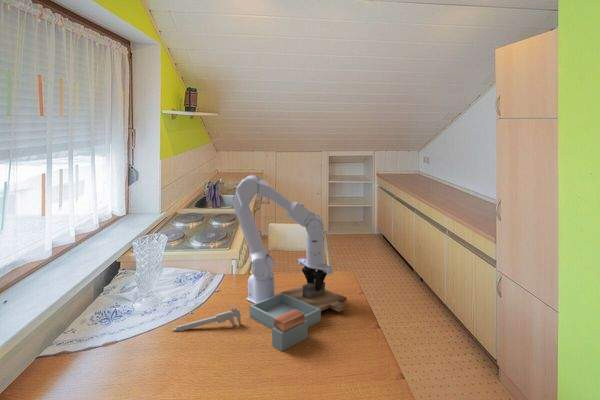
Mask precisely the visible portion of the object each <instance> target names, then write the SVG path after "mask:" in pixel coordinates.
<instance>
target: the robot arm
mask: <svg viewBox="0 0 600 400" xmlns="http://www.w3.org/2000/svg"><path fill="white" fill-rule="evenodd" d="M256 195H257V198H268V199H269V200H270V201H272V202H273V203H275V204H276V205H278V206H280V207H281V208H282V209H284V210H285V211H286V214H287V216H288V217H289V218H290V219H291V220H292V221H294V222H295V223H297V224H298V225H300V226H301V227H303V228H305V231H306V234H307V235H306V239H305V241H306V249H305V250H306V252H305V253H306V258H304V257H300V258H298V259H297V264H298V265H299V266H303V267H302V268H301V272H302V273H303V274H304V277H305V280H306V284H308V283H311V282H314V281H315V288H316V291H319V290H321V289H322V285H323V282H325V279H326V276H327V275H332V274H333V273H334V272H333V271H334V268H333V267H331V266H329V265H328V264H326V263H325V260H324V237H323V236H324V233H323V232H324V229H325V227H324V220H323V219H322V217H321V216H320V214H316V213H315V211H313V212H312V211H311V210H310V209H308V208H307V207H306V206H305V204H304V203H303V202H299V201H294V202H293V201H291V200H290V199H288V198H287V197H286V196H284V195H283V194H282V193H281V192H280V191H278V190H277V189H276V188H274V187H273V186H272V185H271V184H270V183H268V182H267V181H265V180H264V179H261V178H260V177H259V176H257V175H254V174H249V175H248V176H246V177H245V178H244V179H242V180H241V181H240V182H239V183H238V185H237V187H236V188H235V195H234V199H233V204H232V206H233V209H234V211H235V214H236V217H237V220H238V222H239V225H240V228H241V231H242V233H243V236H244V239H245V241H246V244H247V247H248V249H249V252H250V257H251V258H250V259H251V264H252V274H251V275H249V277H248V280H247V297H246V298H245V300H247V301H249V302H250V303H253V304H255V303H257V302H260V301H262V300H265V299H267V298H270V297H272V296H275V295H276V292H275V290H276V289H275V274H274V272H273V268H274V266H275V260H274V258H273V257H272V256H271V255H270V254H269V251H268V249H267V248H266V247H265V245H264V243H263V239H262V237H261V234H260V232H259V230H258V229H259V228H258V226H257V224H256V221H255V218H254V215H253V212H252V209H251V207H250V204H251V203H252V200H253V199H254V197H255V196H256Z"/></svg>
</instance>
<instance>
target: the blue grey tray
mask: <svg viewBox="0 0 600 400" xmlns="http://www.w3.org/2000/svg"><path fill="white" fill-rule="evenodd" d="M294 309H296V310H298V311H300V312H302V313H304V314H305V322H302V323H300V324H298V325H296V326H294V327H292V328H290V329H288V330H286V331H282V330H280V329H278V328H276V327H274V318H276V317H278V316H281V315H283V314H285V313H287V312H290V311H292V310H294ZM249 318H250V319H252V320H254V321H256V322H258V323H260V324H262V325H264V326H265V327H267V328H269V329H271V342H272V343H271V346H272V347H274V348H276V349H277V350H279V351H280V352H284V351H285V350H287V349H289V348H291V347H292V346H295V345H297V344H298V343H301V342H303V341H304V340H306V339H308V337H309V336H308V335H309V333H308V332H309V331H308V330H309V329H308V328H310V327H312V326H314V325H316V324H317V323H320V322H322V311H321V309H319V308H317V307H314V306H312V305H310V304H307V303H305V302H303V301H300V300H298V299H296V298H293V297H291V296H289V295H286V294H284V293H281V292H280V293H277V294H275V296H272V297H270V298H267V299H265V300H262V301H260V302H257V303H253V304H250V305H249Z"/></svg>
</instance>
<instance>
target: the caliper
mask: <svg viewBox="0 0 600 400" xmlns="http://www.w3.org/2000/svg"><path fill="white" fill-rule="evenodd" d="M230 309H231V310H229V311H224V312H221V313H217V314H216V315H214V316H211V317H207V318H203V319H198V320H195V321H190V322H187V323H184V324H180V325H176V326H175V327H174V328H172V332H181V331H186V330H190V329H194V328H197V327H200V326H201V327H202V326H205V325H209V324H213V323H216V322H217V323H218V324H221V323H225V322H227V321H229V322H230V324H231V325H232V326H233V327H235V326H236V322H235V319H234V318H236V320H237V322H238V325H239V326H241V325H242V323H241V322H242V321H241V313H240V310H239V308H237V306H234V308H233V307H232V306H231V308H230Z"/></svg>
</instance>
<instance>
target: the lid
mask: <svg viewBox="0 0 600 400" xmlns="http://www.w3.org/2000/svg"><path fill="white" fill-rule="evenodd" d="M280 293H284V294H286V295H289V296H291V297H293V298H296V299H298V300H300V301H303V302H305V303H307V304H310V305H312V306H314V307H317V308H319V309H321V312H323V311H325V310H327V309H331V310H333V311H336V312H338V313H339V312H342V311H345V310H346V309H347V307H348V305H347V304H345V303H344V302H347V301H348V300H347V297H346V296H344V295H342V294H339V293H336V292H333V291H331V290H328V289H326V282H325V281H324V282H323V285H322V289H321V290H319V291H316V288H315V281H314V282H311V283H308V284H307V283H305V284H302V285H299V286H296V287H294V288H290V289H287V290H285V291H284V290H283V291H281V292H280Z"/></svg>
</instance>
